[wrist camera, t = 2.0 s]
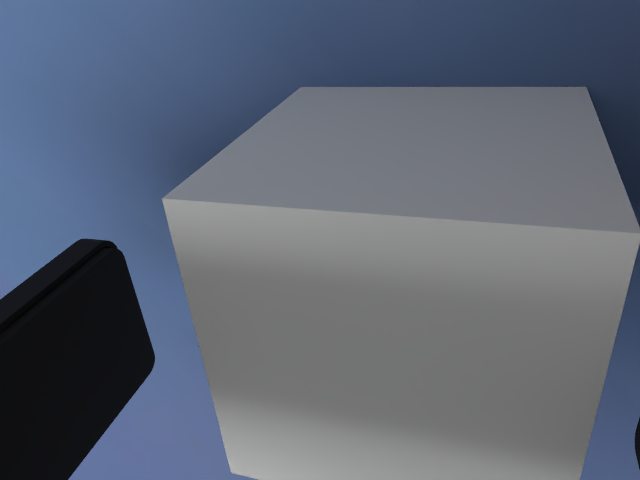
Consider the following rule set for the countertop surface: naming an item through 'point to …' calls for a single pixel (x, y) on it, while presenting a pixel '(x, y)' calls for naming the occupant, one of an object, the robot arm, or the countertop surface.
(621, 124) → the countertop surface
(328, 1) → the countertop surface
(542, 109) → the grey cube
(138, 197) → the countertop surface
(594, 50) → the countertop surface
